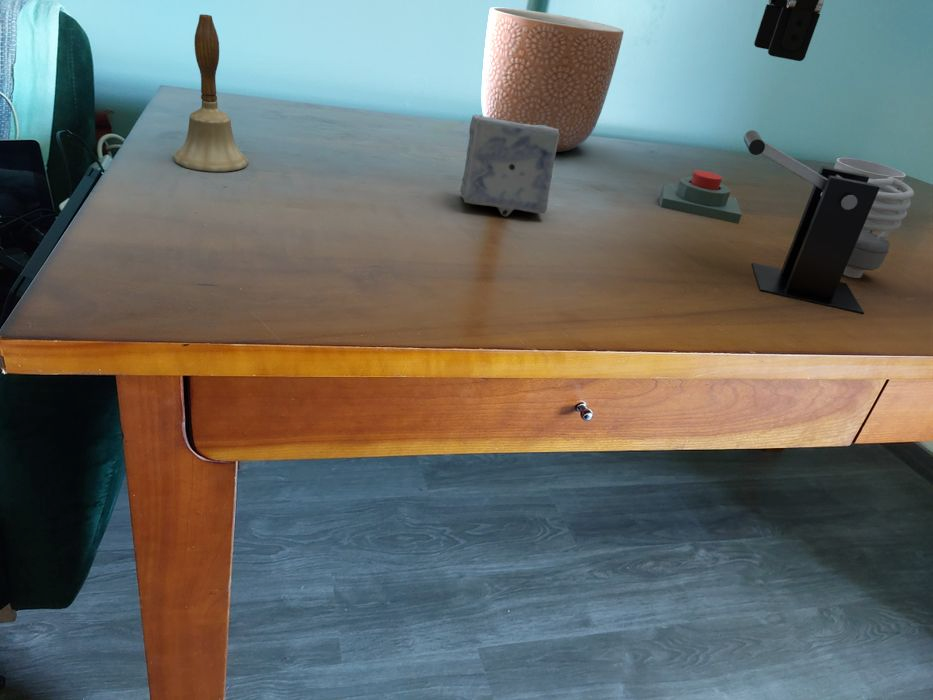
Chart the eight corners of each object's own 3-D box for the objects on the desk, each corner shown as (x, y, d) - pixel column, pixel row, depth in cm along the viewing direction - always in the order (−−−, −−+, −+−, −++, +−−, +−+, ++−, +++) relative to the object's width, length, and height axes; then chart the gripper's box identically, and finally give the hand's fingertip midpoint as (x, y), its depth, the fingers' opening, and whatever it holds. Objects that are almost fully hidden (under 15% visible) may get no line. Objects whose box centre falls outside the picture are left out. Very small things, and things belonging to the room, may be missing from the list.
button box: (731, 213, 101) (740, 185, 99) (736, 230, 94) (746, 200, 92) (658, 198, 102) (666, 170, 100) (658, 214, 95) (667, 184, 93)
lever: (742, 154, 69) (758, 132, 68) (737, 144, 73) (752, 123, 72) (851, 219, 69) (869, 197, 68) (840, 205, 74) (857, 184, 72)
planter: (445, 131, 119) (462, 3, 110) (520, 123, 134) (541, 10, 125) (548, 167, 108) (576, 29, 99) (618, 154, 123) (648, 33, 114)
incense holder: (536, 201, 92) (553, 117, 87) (544, 223, 85) (563, 133, 80) (459, 191, 91) (471, 105, 86) (460, 212, 84) (475, 120, 79)
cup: (880, 258, 93) (915, 181, 88) (816, 245, 93) (846, 168, 89) (861, 237, 100) (893, 165, 95) (801, 226, 100) (829, 153, 96)
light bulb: (831, 287, 80) (877, 180, 74) (812, 268, 85) (853, 166, 79) (881, 295, 80) (930, 189, 74) (859, 275, 85) (904, 174, 79)
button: (717, 187, 97) (721, 174, 97) (718, 194, 94) (723, 180, 93) (689, 181, 98) (693, 168, 97) (690, 188, 95) (694, 175, 94)
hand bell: (184, 173, 81) (178, 18, 74) (165, 152, 87) (158, 6, 79) (257, 171, 86) (259, 24, 78) (235, 151, 91) (234, 13, 84)
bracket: (756, 300, 73) (803, 175, 67) (748, 272, 80) (790, 157, 74) (859, 323, 72) (916, 198, 66) (842, 293, 79) (892, 177, 73)
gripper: (927, -169, 55) (836, 70, 63) (866, -137, 70) (799, 53, 78) (824, -185, 55) (748, 54, 64) (786, -149, 71) (728, 40, 79)
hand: (776, 53), depth 71 cm, fingers open, 9 cm apart
